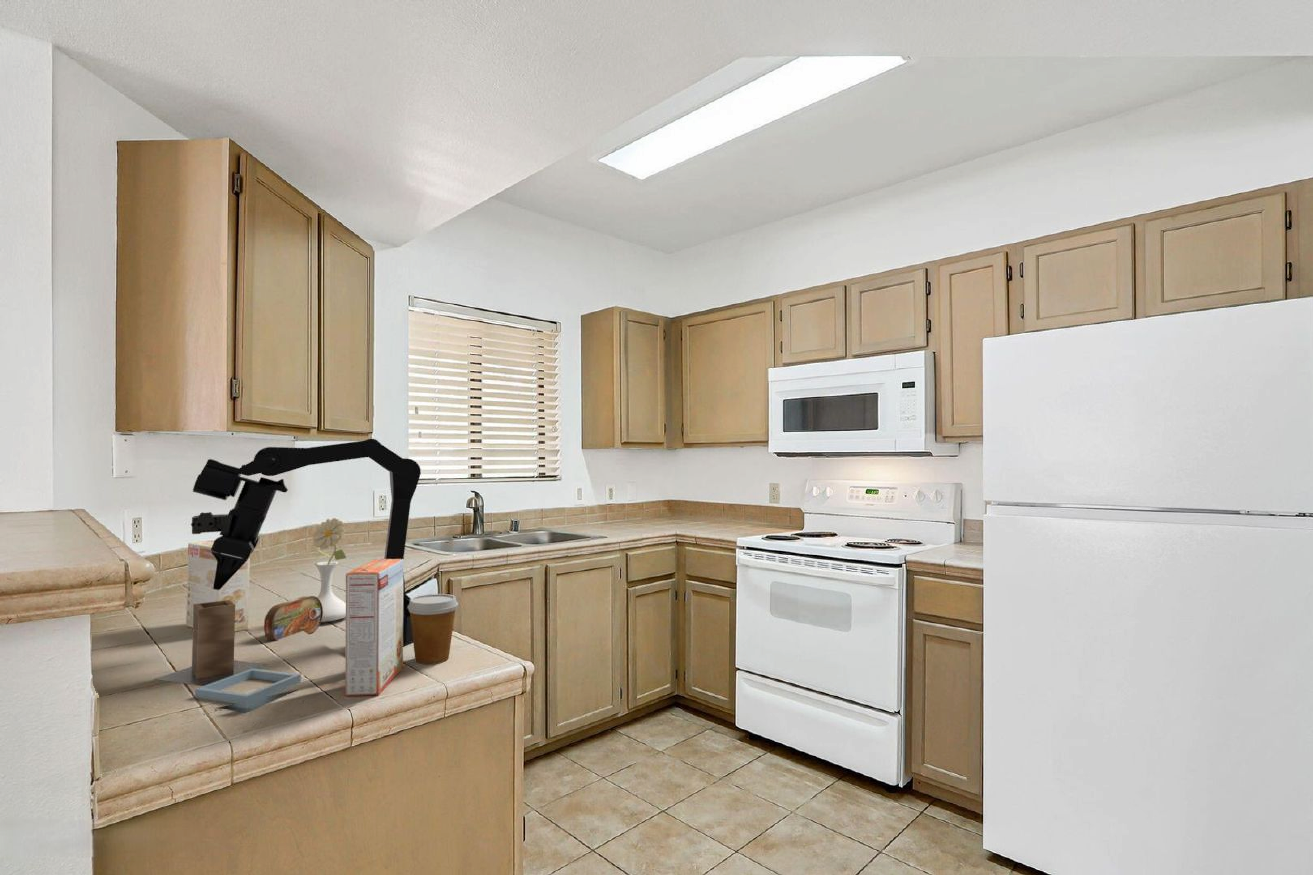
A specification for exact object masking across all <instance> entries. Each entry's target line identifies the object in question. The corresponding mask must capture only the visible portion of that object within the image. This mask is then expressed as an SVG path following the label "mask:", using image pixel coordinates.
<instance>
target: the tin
mask: <svg viewBox="0 0 1313 875" xmlns="http://www.w3.org/2000/svg"><path fill="white" fill-rule="evenodd" d="M322 616H323V608H322V604H321V602H320V600H319V599H318V598H317V596H314V595H309V596H300V597H296V598H294V599H291V600H288V601H284V602H281V603H278V604H275V605H274V606H272V607H271V608H269V610H268V611H267V612H266V615H265V617H264V623H263V625H264V626H263V629H264V630H263V631H264V635H265V638H266V639H267V640H268V641H279V640H281V639H284V638H287V637H290V636H293V635H295V634H298V633H301V632H305V633H306V634H307V635H311V634H313V633H315V632H316V631H317V630H318V629H319V627H320V625H321V623H322V622H321V620H322Z"/></svg>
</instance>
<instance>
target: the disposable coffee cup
mask: <svg viewBox="0 0 1313 875" xmlns="http://www.w3.org/2000/svg"><path fill="white" fill-rule="evenodd" d="M458 605H459V602H458V601H457V598H456V595H453V594H448V593H447V594H445V593H434V594H432V593H431V594H423V595H418V596H415V597H412V598H411V600H410V603H409V605H408V607H407V608H408V609H409V612H410V617H411V626H412V635H413V642H412V644H413V652H414V662H415V663H416V664H417V663H418V664H420V665H435V664H440V663H444V662H446V661H448V660H449V657H450V650H451V644H452V637H453V630H454V622H455V616H456V614H455V613H456V610H457V609H458Z"/></svg>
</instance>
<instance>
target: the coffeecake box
mask: <svg viewBox="0 0 1313 875" xmlns="http://www.w3.org/2000/svg"><path fill="white" fill-rule="evenodd" d="M214 541H215V540H206V541H205V540H204V541H198V542H188V546H187V550H188V551H187V581H186V583H187V585H186V589H187V590H186V615H185V626H186V627H188V628H192V629H193V605H194V604H199V603H207V602H215V601H223V600H230V601H231V602H232V603H234V604H235V633H237V632H241V631H246V630H249V629H250V628H249V609H250V607H249V605H250V574H251V573H250V571H251V570H250V569H251V568H250V566H251V564H250V563H251V556H250V557H249V558H248V560H247V561H246V562H245V563H244V564H243V565H242V567H241V568H240V569H239V570H238V571H237V572H236V573H235V574H234V575H233V576H232V577H231V578H230V579H229V580H228V581H227V583H226V584H225V585H224V586H223V587H222V588H221V589H220V590H216V589H213V586H214V580H215V574H216V568H217V560H216V558H215V557H214V555H212V553H211V551H212V550H211V548H212V546H213V543H214Z"/></svg>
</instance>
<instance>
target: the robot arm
mask: <svg viewBox="0 0 1313 875" xmlns="http://www.w3.org/2000/svg"><path fill="white" fill-rule="evenodd" d="M363 458H369V459H370V460H372V461H373V462H375V463H376V464H378V465H379V466H381V467H382V468H383V469H385V470H386V471H388V472H389V473H388V474H389V484H390V485H389V486H390V487H389V488H390V493H391V494H390V495H391V504H390V511H389V520H388V525H387V526H388V527H387V534H386V535H387V536H386V542H385V551H384V557H383V559H403V560H405V559H404V558H405V550H406V542H407V535H408V527H409V519H410V518H409V517H410V510H411V502H412V499H413V496H414V495H415V492H416V489H417V487H418V484H419V481H420V477H421V473H422V472H421V470H422V469H421V467H420V465H419V464H418V462H417V461H415V460H414V459H411V458H408V457H407V458H406V457H405V458H403V457H401V456H400V455H398V454H397V453H396V452H393V451H392V450H391V449H389V448H388V447H386V446H385V445H383V444H382V443H381V442H380V441H379V440H378V439H376V438H367V439H365V440H361V441H353V442H352V441H351V442H345V443H343V442H342V443H336V444H335V443H334V444H329V445H328V444H327V445H321V446H311V447H286V446H285V447H282V446H278V447H277V446H267V447H264V448H262V449H260V450H259V451H257V453H256V454H255V455H254V457H253V460H251V461H250V462H248V463H246V464H242V465H241V467H237V466H232V465H229V464H226V463H223V462H220V461H218V460H216V459H212V458H209V459H207V460H206V463H205V465H204V466H203V469H202V470H201V472H200V474H198V475H197V478H196V479H195V482H194V484H193V487H192V492H193V493H196V494H199V495H204V496H208V497H211V498H214V499H219V500H221V501H226V500H228V498H230V497H232V498H235V497H236V495H237V493H238V491H239V489H240V486H241V484H242V482H244V483H243V486H242V488H241V491H240V492H239V495H238V497H237V500H236V502H235V504H234V507H233V508H231V509H230V510H229V511H228V513H226V514H225V513H223V514H222V513H221V514H219V513H218V514H213V512H212V511H209V512H200V514H198V515H194V516H192V517H191V523H190V526H191V534H192V535H200V534H203V533H219V537H217V538H215V539H214V540H213V541H214V543H213V546H212V548H211V550H212V551H211V553H212V555H214V557H215V558H216V560H217V568H216V574H215V580H214V586H213V589H216V590H220V589H221V588H222V587H223V586H224V585H225V584H226V583H227V581H228V580H229V579H230V578H231V577H232V576H233V575H234V574H235V573H236V572H237V571H238V570H239V569H240V568H241V567H242V565H243V564H244V563H245V562H246V561H247V560H248V558H249V557H250V558H251V554H252V553H253V552H254V551H255V549H256V548H257V545H258V542H259V540H260V536H259V534H260V531H261V528H262V527H263V524H264V522H265V520H266V518H267V516H268V513H269V510H270V508H271V505H272V502H273V501H274V497H275V495H276V493H277V492H282V493H287V492H288V490H289V489H288V487H287V486H286V484H285V481H284V480H285V479H284V478H281V479H279V480H274V479H270V478H267V477H274V476H277V475H280V474H281V475H282V474H285V473H288V472H291V471H294V470H298V469H301V468H304V467H307V466H312V465H314V466H315V465H320V464H321V465H322V464H328V463H333V462H335V463H336V462H340V461H341V462H343V461H349V460H356V459H363ZM257 474H261V475H263V477H260V478H259V479H258V480H255V479H251V478H248V477H250V476H254V475H257ZM241 475H243V476H241ZM245 476H246V477H245ZM264 476H267V477H264ZM405 586H406V585H405V574H404V572H403V647H404V646H406V645H409V644H411V643H413V635H412V626H411V617H410V612H409V609H408V608H407V607H408V605H409V603H410V600H411V599H412V598H411V597H410V596H408V594H406V587H405Z"/></svg>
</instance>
